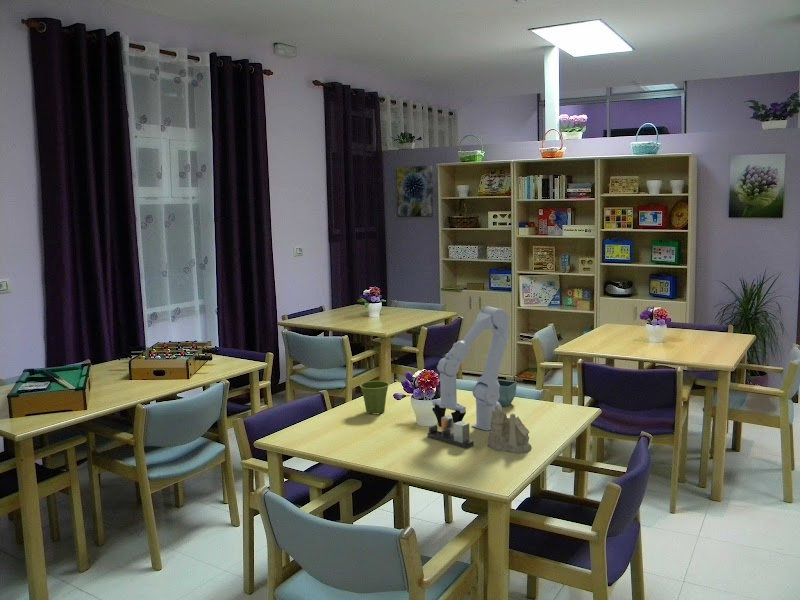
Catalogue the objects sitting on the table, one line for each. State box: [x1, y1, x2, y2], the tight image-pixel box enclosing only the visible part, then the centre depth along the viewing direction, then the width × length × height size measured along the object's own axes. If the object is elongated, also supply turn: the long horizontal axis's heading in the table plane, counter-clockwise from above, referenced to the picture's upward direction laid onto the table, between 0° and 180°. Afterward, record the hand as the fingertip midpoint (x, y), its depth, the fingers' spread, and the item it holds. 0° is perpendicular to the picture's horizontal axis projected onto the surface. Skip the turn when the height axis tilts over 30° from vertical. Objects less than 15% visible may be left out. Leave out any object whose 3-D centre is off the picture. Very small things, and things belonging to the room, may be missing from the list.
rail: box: [427, 420, 474, 449], centre depth 247 cm, size 18×4×8 cm, turn 43°
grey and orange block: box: [440, 414, 454, 435], centre depth 256 cm, size 4×4×6 cm
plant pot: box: [359, 380, 390, 414], centre depth 285 cm, size 12×12×11 cm
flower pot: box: [497, 379, 518, 407], centre depth 291 cm, size 9×9×9 cm
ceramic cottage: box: [487, 405, 532, 455], centre depth 242 cm, size 16×16×15 cm
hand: (449, 428), depth 257 cm, fingers open, 7 cm apart
